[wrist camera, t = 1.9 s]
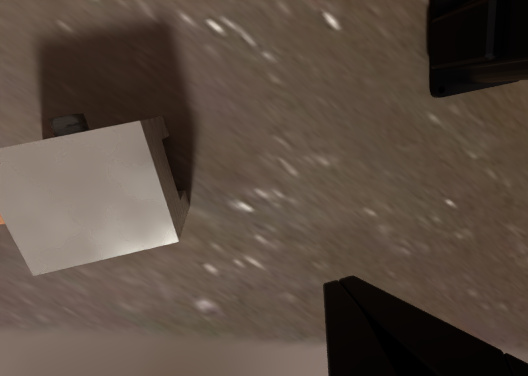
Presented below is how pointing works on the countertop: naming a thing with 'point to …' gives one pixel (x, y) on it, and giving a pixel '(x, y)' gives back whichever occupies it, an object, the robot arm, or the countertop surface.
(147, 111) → the countertop surface
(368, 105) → the countertop surface
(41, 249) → the grey cube with knob
